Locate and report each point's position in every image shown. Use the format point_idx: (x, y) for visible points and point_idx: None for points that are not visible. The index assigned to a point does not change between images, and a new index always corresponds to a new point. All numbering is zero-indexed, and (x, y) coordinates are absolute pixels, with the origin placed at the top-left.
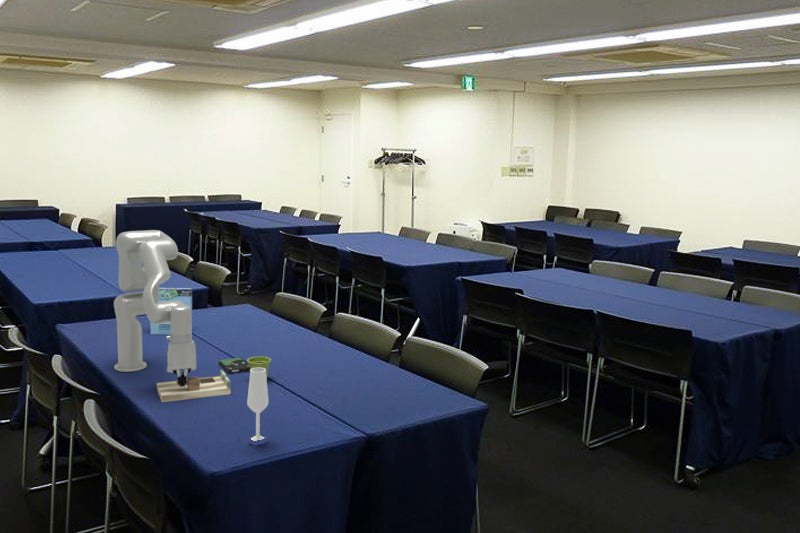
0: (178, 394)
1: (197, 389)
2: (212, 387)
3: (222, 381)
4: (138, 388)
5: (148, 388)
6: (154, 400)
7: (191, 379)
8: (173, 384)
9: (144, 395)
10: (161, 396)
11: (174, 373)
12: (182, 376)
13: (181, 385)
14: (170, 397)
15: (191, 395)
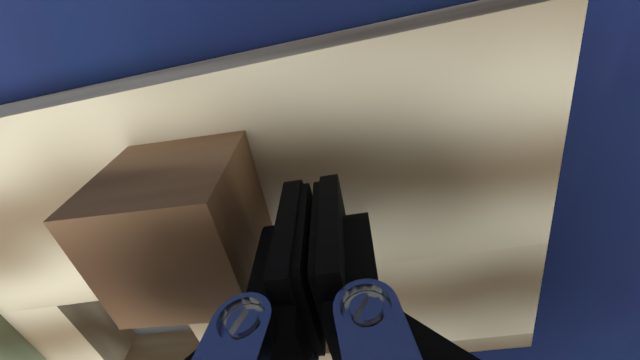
0: (357, 40)
1: (147, 146)
2: (18, 195)
3: (3, 309)
4: (624, 324)
5: (560, 317)
6: (595, 67)
7: (174, 246)
8: (402, 303)
9: (636, 204)
10: (578, 8)
11: (465, 351)
12: (304, 295)
13: (324, 182)
14: (453, 14)
15: (213, 65)
